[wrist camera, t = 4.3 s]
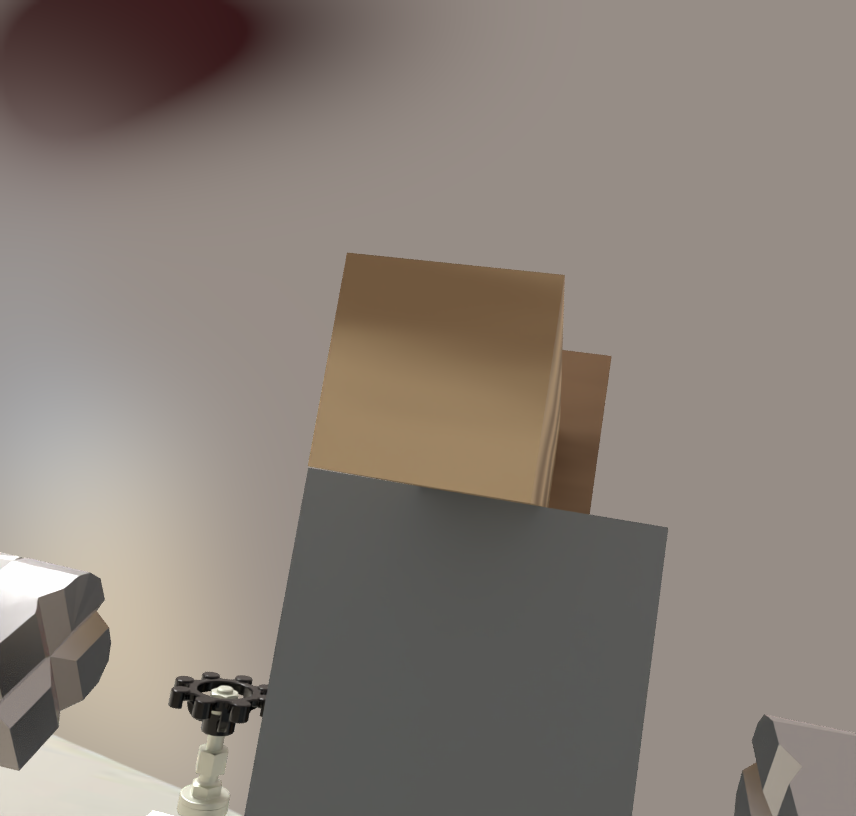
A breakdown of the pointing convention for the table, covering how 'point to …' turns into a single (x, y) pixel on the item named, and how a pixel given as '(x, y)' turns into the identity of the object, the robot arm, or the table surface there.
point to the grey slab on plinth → (456, 657)
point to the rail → (460, 384)
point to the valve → (213, 735)
